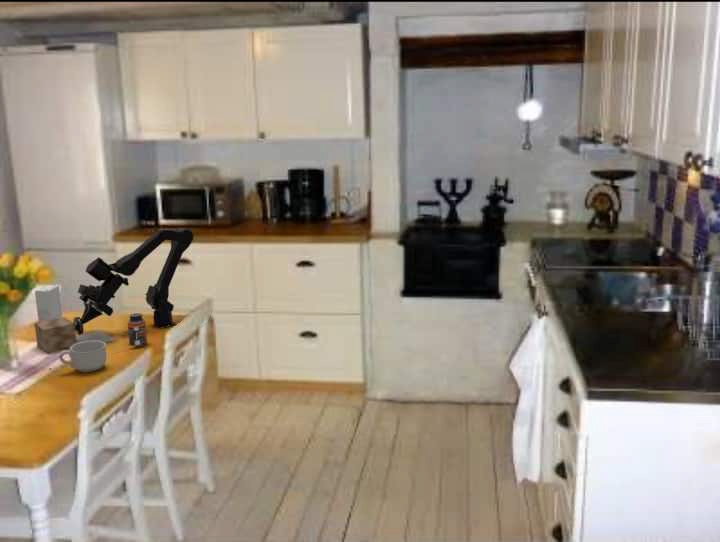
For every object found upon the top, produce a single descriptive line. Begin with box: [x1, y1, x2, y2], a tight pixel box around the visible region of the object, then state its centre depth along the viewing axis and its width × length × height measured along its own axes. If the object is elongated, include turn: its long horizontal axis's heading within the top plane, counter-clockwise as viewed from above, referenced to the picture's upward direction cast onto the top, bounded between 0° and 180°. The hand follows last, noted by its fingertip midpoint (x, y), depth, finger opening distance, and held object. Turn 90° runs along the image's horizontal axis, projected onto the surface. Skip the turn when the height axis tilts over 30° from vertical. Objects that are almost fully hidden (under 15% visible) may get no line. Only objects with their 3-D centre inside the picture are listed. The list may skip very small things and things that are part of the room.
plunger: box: [73, 316, 84, 336], centre depth 238 cm, size 11×6×6 cm, turn 131°
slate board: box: [35, 330, 117, 356], centre depth 241 cm, size 23×15×1 cm, turn 131°
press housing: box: [34, 316, 77, 355], centre depth 236 cm, size 10×11×8 cm
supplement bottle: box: [127, 312, 148, 349], centre depth 237 cm, size 6×6×11 cm
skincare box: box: [34, 284, 64, 322], centre depth 267 cm, size 8×6×15 cm
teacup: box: [58, 340, 107, 373], centre depth 215 cm, size 14×11×8 cm
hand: (80, 323), depth 241 cm, fingers closed, pressing on plunger
